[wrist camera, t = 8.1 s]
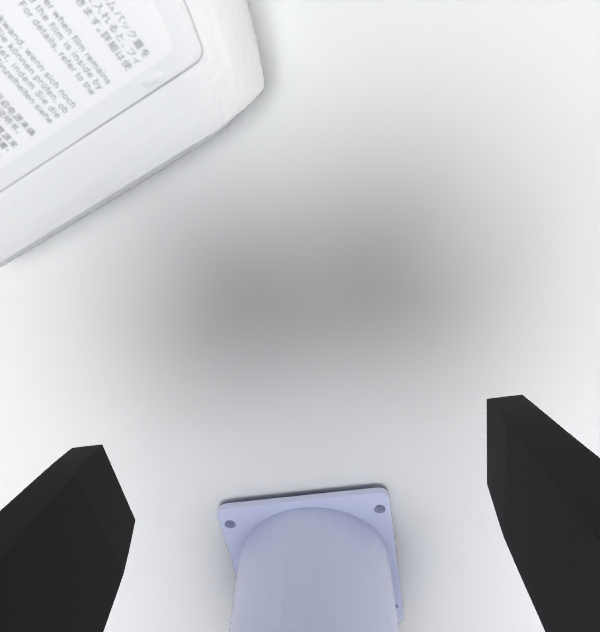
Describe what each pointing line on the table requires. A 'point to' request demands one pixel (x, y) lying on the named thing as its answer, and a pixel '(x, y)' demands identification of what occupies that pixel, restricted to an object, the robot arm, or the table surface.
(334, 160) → the table surface
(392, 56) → the table surface
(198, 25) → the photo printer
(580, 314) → the table surface
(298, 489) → the table surface
